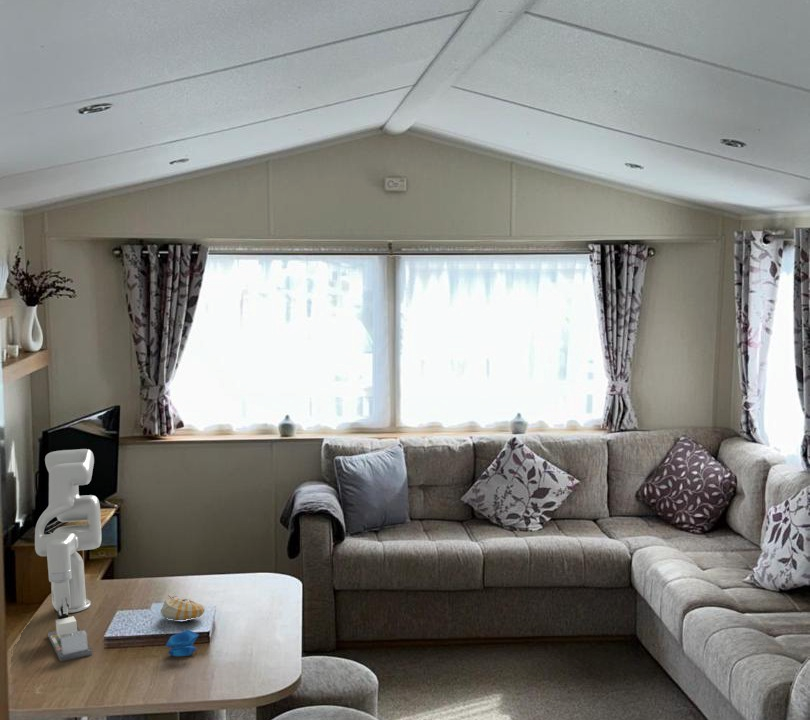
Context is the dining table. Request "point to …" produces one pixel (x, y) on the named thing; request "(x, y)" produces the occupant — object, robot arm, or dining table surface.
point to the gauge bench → (71, 656)
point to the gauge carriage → (65, 626)
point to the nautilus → (181, 609)
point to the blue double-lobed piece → (182, 643)
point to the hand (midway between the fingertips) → (63, 625)
